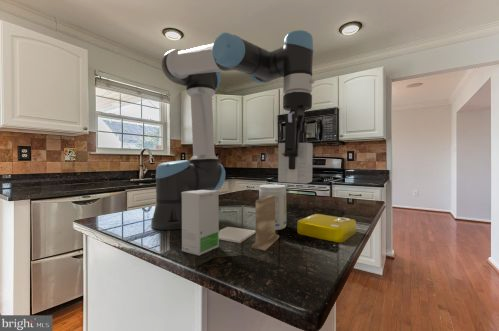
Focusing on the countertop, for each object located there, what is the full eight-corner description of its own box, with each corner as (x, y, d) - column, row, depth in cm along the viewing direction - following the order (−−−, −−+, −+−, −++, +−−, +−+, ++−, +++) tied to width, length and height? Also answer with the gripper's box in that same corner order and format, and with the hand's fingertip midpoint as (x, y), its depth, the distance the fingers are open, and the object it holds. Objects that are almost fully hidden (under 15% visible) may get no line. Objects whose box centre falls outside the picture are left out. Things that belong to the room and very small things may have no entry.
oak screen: (251, 247, 65) (251, 200, 65) (266, 236, 75) (266, 194, 75) (265, 250, 63) (265, 201, 63) (279, 238, 73) (279, 195, 73)
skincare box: (198, 256, 59) (198, 193, 59) (179, 251, 63) (179, 191, 62) (220, 246, 66) (219, 190, 66) (202, 242, 70) (202, 188, 69)
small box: (312, 182, 66) (313, 143, 65) (307, 184, 61) (308, 142, 60) (284, 180, 69) (285, 143, 69) (277, 181, 65) (278, 142, 64)
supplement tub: (273, 222, 92) (273, 183, 92) (292, 227, 85) (292, 185, 84) (253, 226, 86) (253, 185, 85) (272, 232, 79) (272, 187, 78)
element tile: (315, 224, 90) (315, 212, 90) (357, 232, 80) (357, 218, 80) (294, 234, 78) (295, 219, 78) (341, 245, 69) (341, 228, 68)
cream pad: (208, 237, 74) (208, 235, 74) (227, 228, 84) (227, 226, 84) (240, 243, 69) (240, 241, 69) (256, 232, 79) (256, 230, 79)
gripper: (303, 82, 54) (301, 185, 55) (318, 100, 71) (316, 179, 72) (271, 86, 57) (270, 183, 58) (293, 102, 74) (292, 177, 75)
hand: (295, 180), depth 65 cm, fingers closed on small box, 6 cm apart
